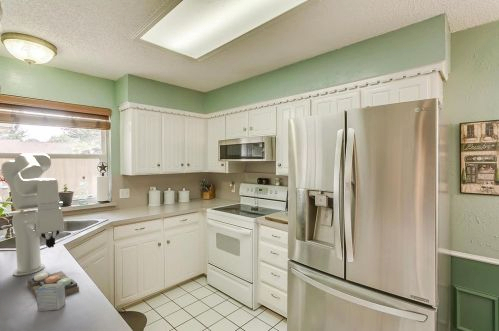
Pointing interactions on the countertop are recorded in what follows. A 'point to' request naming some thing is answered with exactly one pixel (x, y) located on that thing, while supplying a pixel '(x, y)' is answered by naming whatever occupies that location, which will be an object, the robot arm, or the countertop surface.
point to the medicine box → (50, 297)
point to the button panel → (68, 289)
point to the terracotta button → (52, 279)
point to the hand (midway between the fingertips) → (50, 246)
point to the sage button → (65, 281)
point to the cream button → (40, 277)
